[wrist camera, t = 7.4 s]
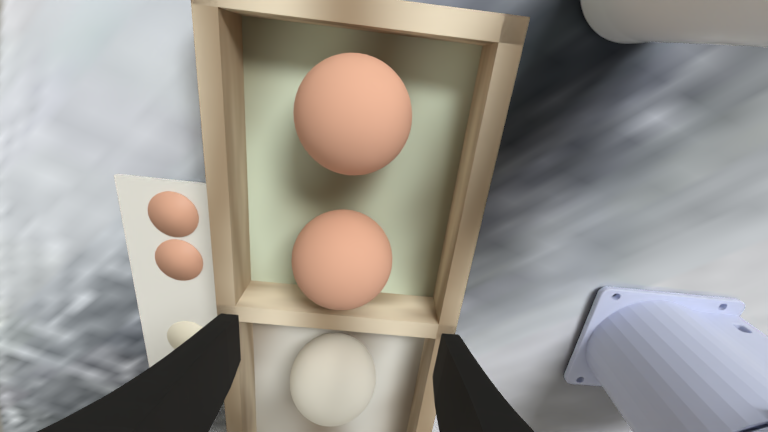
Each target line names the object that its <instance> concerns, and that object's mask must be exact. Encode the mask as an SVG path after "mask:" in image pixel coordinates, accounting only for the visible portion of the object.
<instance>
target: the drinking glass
mask: <svg viewBox="0 0 768 432" xmlns="http://www.w3.org/2000/svg"><path fill="white" fill-rule="evenodd" d="M580 4H581V8H582V12H583V14H584V17H585V19H586V21H587V22H588V24H589V26H590V27H591V28H592V29H593V30H594V31H595V32H596V33H597V34H598V35H600V36H601V37H603V38H605V39H607V40H609V41H612V42H616V43H622V44H636V43H648V42H663V43H689V44H712V45H733V46H753V47H768V0H580Z"/></svg>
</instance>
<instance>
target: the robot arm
mask: <svg viewBox="0 0 768 432" xmlns="http://www.w3.org/2000/svg"><path fill="white" fill-rule="evenodd" d="M614 294H616V295H615V296H613V295H614ZM612 296H613V297H612ZM744 309H745V303H744V302H742V301H741V300H739V299H735V298H724V297H714V296H703V295H693V294H683V293H672V292H662V291H651V290H641V289H631V288H620V287H610V286H606V287H603V288H601V289H600V290H599V291H598V293H597V295H596V298H595V300H594V303H593V305H592V307H591V310H590V312H589V315H588V317H587V320H586V322H585V325H584V327H583V330H582V332H581V334H580V337H579V339H578V342H577V344H576V347H575V349H574V352H573V354H572V357H571V359H570V361H569V364H568V366H567V369H566V371H565V374H564V378H565V380H566V382H567V383H569V384H577V385H589V386H601V387H603V388H604V390H605V391H606V393H607V394H608V396H609V397H610V399H611V400H612V402H613V403H614V405H615V406H616V407H617V409H618V410H619V412H620V413H621V415H622V416H623V418H624V419H625V421H626V422H627V424H628V425H629V426H630V428H631V429H632V431H633V432H768V336H767V335H765V334H764V333H763V332H761V331H760V330H758V329H757V328H755V327H754V326H753V325H751V324H750V323H748V322H747V321H745V320H744V319H743V318H741V317H740V315H741V314H742V312H743V310H744ZM240 361H241V351H240V333H239V315H235V314H224V313H221V314H219V315H218V316H217V317H215V318H214V319H213V320H212V321H210V322H209V323H208V324H207V325H205V326H204V327H203V328H202V329H200V330H199V331H198V332H197V333H195V334H194V335H193V336H192V337H190V338H189V339H188V340H186V341H185V342H184V343H183V344H181V345H180V346H179V347H177V348H176V349H175V350H173V351H172V352H171V353H169V354H168V355H167V356H165V357H164V358H163V359H161V360H160V361H158V362H157V363H156V364H154V365H153V366H151V367H150V368H148V369H147V370H146V371H144V372H143V373H141V374H140V375H138V376H137V377H135V378H134V379H132V380H131V381H129V382H127V383H126V384H124V385H123V386H121V387H119V388H118V389H116V390H114V391H113V392H111V393H109V394H108V395H106V396H104V397H103V398H101V399H99V400H97V401H95V402H94V403H92V404H90V405H88V406H86V407H84V408H82V409H81V410H79V411H77V412H75V413H73V414H71V415H69V416H68V417H66V418H64V419H62V420H60V421H58V422H56V423H54V424H52V425H50V426H48V427H46V428H44V429H42V430H40V431H37V432H208V431H209V429H210V427H211V425H212V423H213V422H214V420H215V418H216V416H217V414H218V412H219V410H220V408H221V406H222V404H223V402H224V400H225V398H226V396H227V394H228V392H229V390H230V388H231V385H232V383H233V380H234V378H235V375H236V372H237V369H238V367H239V364H240ZM432 378H433V392H434V403H435V409H436V415H437V420H438V425H439V430H440V432H534V431H533V430H532V429H531V428H530V427H529V425H528V424H527V423H526V422H525V421H524V420H523V419H522V418H521V417H520V416H519V415H518V414H517V413H516V411H515V410H514V409H513V408H512V407H511V406H510V404H509V403H508V402H507V401H506V400H505V398H504V397H503V396H502V395H501V393H500V392H499V391H498V390H497V388H496V387H495V386H494V384H493V383H492V382H491V380H490V379H489V378H488V376H487V375H486V374H485V372H484V371H483V370H482V368H481V367H480V365H479V364H478V362H477V361H476V359H475V358H474V357H473V355H472V354H471V352H470V351H469V349H468V348H467V346H466V345H465V343H464V342H463V340H462V339H461V337H460V336H459V335H456V334H445V333H442V334H441V339H440V344H439V348H438V353H437V357H436V362H435V366H434V371H433V376H432Z"/></svg>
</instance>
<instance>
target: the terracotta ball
mask: <svg viewBox="0 0 768 432" xmlns="http://www.w3.org/2000/svg"><path fill="white" fill-rule="evenodd" d="M291 262H292V270H293V275H294V278H295V280H296V282H297V284H298V286H299V288H300V289H301V291H302V292H303V293H304V294H305V295H306V296H307V297H308V298H309V299H310V300H312V301H313V302H314V303H316V304H318V305H320V306H322V307H325V308H328V309H332V310H350V309H355V308H358V307H361V306H363V305H365V304H367V303H368V302H370V301H371V300H373V299H374V298H375V297H376V296H377V295H378V294H379V293H380V292H381V291H382V289H383V288H384V286H385V285H386V283H387V281H388V279H389V276H390V273H391V269H392V250H391V246H390V242H389V240H388V238H387V236H386V234H385V232H384V231H383V229H382V228H381V227H380V226H379V225H378V224H377V223H376V222H375V221H374V220H373V219H371V218H370V217H368V216H367V215H365V214H363V213H360V212H357V211H354V210H346V209H339V210H332V211H328V212H325V213H323V214H320V215H318V216H317V217H315V218H314V219H312V220H311V221H310V222H309V223H308V224H306V225H305V227H304V228H303V229H302V230H301V232H300V233H299V235H298V237H297V239H296V241H295V243H294V247H293V251H292V260H291Z"/></svg>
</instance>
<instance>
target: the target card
mask: <svg viewBox="0 0 768 432" xmlns="http://www.w3.org/2000/svg"><path fill="white" fill-rule="evenodd" d="M114 179H115V184H116V189H117V195H118V200H119V206H120V211H121V216H122V222H123V227H124V233H125V238H126V243H127V249H128V254H129V260H130V265H131V270H132V276H133V281H134V286H135V292H136V297H137V303H138V308H139V313H140V319H141V324H142V330H143V335H144V340H145V346H146V351H147V357H148V362H149V367H151V366H153V365H154V364H156V363H157V362H158V361H160V360H161V359H163V358H164V357H165V356H167V355H168V354H169V353H171V352H172V351H173V350H175V349H176V348H177V347H179V346H180V345H181V344H183V343H184V342H185V341H186V340H188V339H189V338H190V337H192V336H193V335H194V334H195V333H197V332H198V331H199V330H200V329H202V328H203V327H204V326H205V325H207V324H208V323H209V322H210V321H212V320H213V319H214V318H215V317H217V308H216V296H215V284H214V272H213V260H212V248H211V236H210V224H209V212H208V200H207V188H206V183H201V182H192V181H182V180H173V179H163V178H154V177H144V176H134V175H125V174H116V175H114Z"/></svg>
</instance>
